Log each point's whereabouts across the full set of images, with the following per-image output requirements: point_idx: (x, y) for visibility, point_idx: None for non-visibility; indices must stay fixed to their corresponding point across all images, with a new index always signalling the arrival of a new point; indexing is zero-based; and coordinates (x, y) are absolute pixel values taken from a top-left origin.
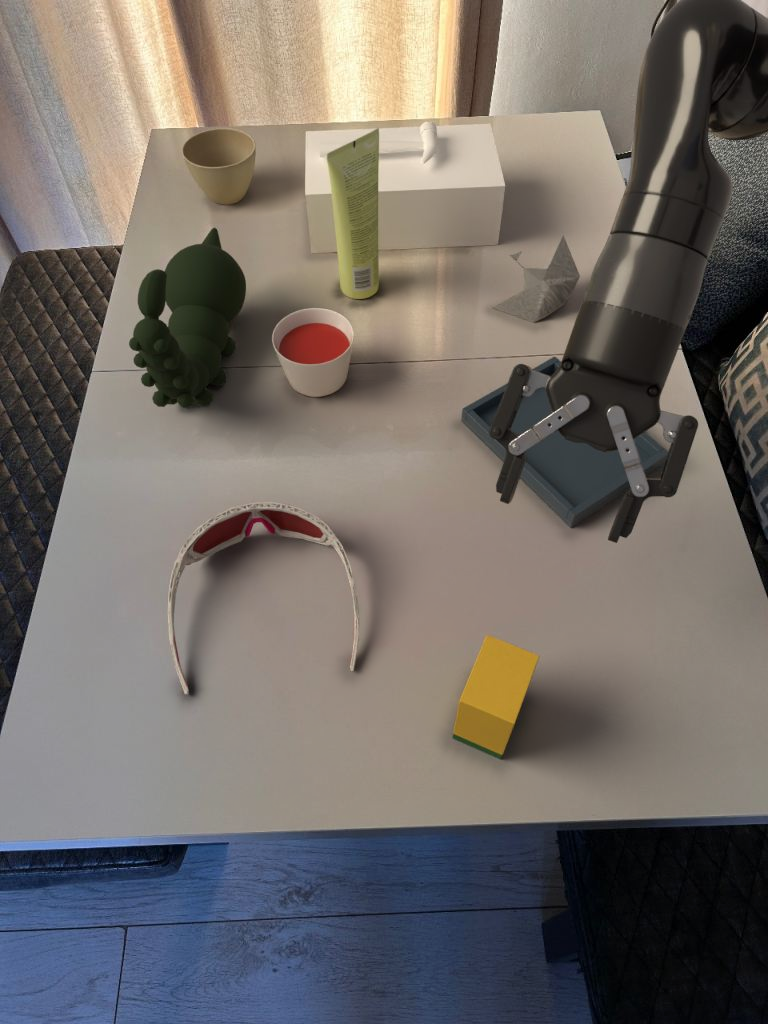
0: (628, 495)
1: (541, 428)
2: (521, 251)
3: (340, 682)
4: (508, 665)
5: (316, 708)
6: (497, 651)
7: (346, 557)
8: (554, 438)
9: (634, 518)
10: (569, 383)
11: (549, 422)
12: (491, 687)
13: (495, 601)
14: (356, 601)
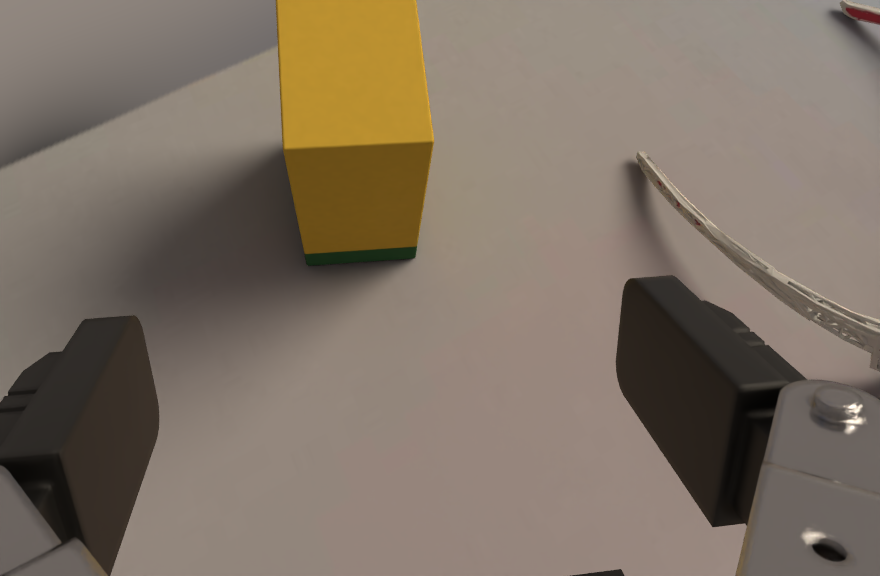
0: (36, 454)
1: (848, 500)
2: None
3: (641, 132)
4: (346, 94)
5: (645, 76)
6: (388, 112)
7: (837, 312)
8: None
9: (4, 415)
10: None
11: (849, 562)
12: (360, 32)
13: (465, 450)
14: (736, 249)
